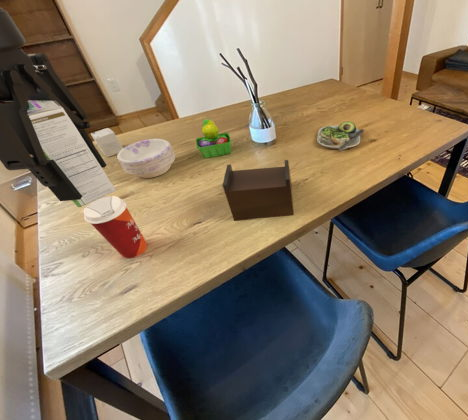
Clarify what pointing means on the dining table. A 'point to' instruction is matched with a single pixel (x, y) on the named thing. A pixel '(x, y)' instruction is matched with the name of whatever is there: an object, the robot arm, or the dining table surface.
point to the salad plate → (339, 136)
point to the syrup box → (68, 150)
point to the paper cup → (116, 225)
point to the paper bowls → (147, 158)
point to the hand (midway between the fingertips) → (85, 181)
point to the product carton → (107, 142)
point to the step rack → (259, 192)
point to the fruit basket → (213, 141)
